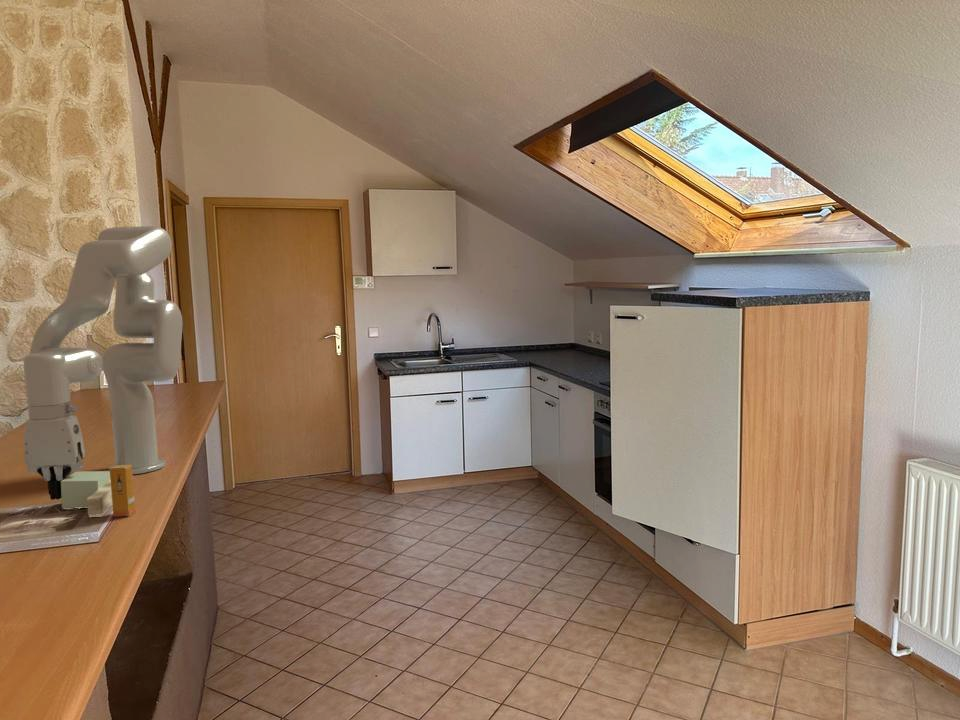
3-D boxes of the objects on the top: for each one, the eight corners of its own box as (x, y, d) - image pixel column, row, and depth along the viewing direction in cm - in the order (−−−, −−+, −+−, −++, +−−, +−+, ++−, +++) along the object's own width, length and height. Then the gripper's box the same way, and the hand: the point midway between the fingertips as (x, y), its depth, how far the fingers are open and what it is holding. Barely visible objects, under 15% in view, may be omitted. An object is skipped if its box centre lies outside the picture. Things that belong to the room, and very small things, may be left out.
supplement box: (137, 510, 138) (133, 463, 137) (129, 516, 135) (125, 468, 134) (120, 511, 138) (116, 464, 137) (112, 517, 135) (107, 468, 133)
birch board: (121, 490, 152) (120, 472, 152) (133, 489, 153) (132, 472, 152) (88, 518, 134) (86, 498, 134) (101, 517, 135) (100, 497, 134)
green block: (76, 498, 146) (75, 471, 145) (111, 497, 147) (110, 471, 146) (62, 509, 139) (60, 481, 138) (98, 508, 140) (97, 480, 139)
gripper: (96, 407, 144) (103, 490, 146) (22, 409, 143) (30, 493, 145) (79, 414, 137) (87, 501, 139) (1, 416, 135) (10, 505, 137)
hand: (58, 497), depth 142 cm, fingers closed
